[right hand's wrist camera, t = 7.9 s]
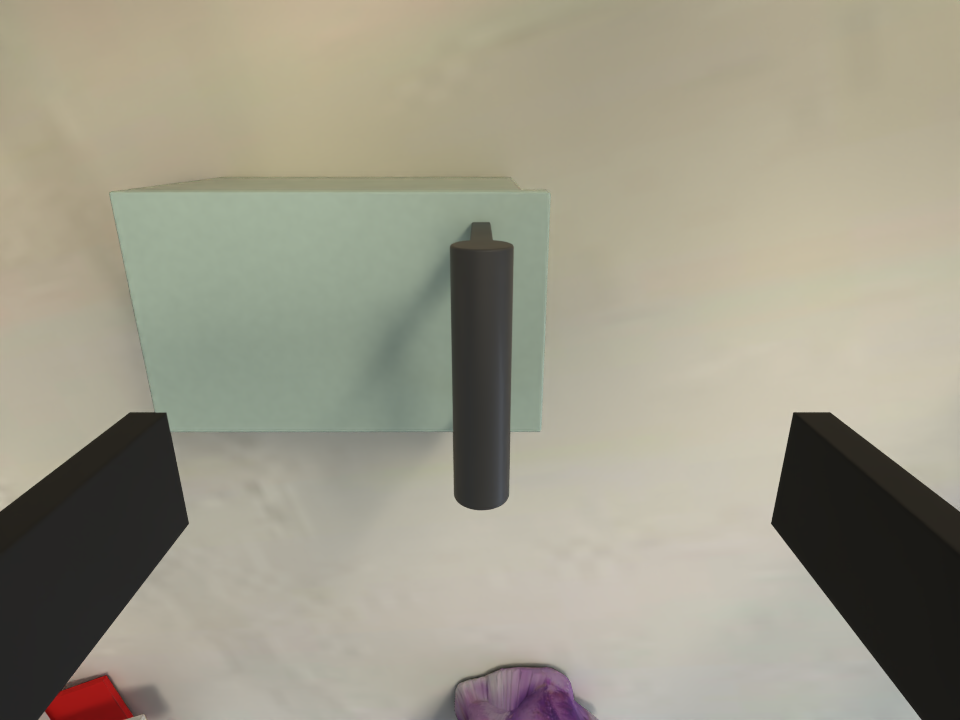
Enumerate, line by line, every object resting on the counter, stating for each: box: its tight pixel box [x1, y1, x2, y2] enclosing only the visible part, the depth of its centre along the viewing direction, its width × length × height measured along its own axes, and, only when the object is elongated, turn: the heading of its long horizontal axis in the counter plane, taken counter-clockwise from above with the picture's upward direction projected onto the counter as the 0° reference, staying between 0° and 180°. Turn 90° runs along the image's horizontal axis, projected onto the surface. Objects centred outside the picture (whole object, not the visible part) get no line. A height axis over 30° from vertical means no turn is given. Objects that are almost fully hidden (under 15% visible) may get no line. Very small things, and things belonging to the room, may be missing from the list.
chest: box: [128, 177, 522, 190], centre depth 28 cm, size 15×10×9 cm, turn 90°
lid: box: [109, 190, 551, 510], centre depth 20 cm, size 16×10×8 cm, turn 90°
